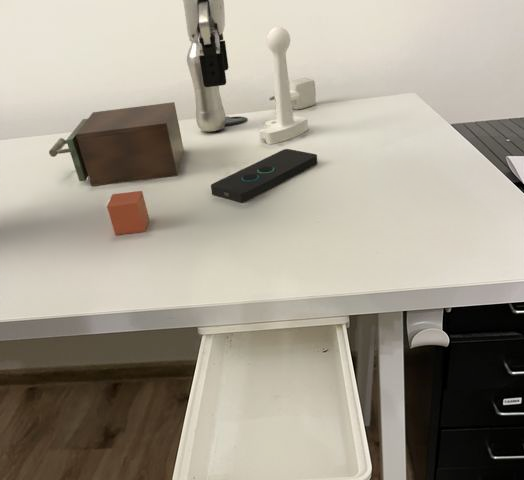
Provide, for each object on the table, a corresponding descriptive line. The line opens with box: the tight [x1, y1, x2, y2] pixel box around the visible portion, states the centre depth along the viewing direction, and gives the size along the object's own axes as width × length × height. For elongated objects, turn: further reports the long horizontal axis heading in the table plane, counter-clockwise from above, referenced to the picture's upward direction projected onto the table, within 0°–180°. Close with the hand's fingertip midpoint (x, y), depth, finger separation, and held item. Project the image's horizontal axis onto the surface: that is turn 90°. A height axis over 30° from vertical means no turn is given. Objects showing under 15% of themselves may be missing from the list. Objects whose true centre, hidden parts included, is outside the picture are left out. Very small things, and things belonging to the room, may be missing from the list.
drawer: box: [48, 118, 89, 182], centre depth 107 cm, size 21×13×8 cm, turn 92°
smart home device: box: [210, 148, 318, 204], centre depth 97 cm, size 8×2×20 cm
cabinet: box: [76, 101, 185, 187], centre depth 107 cm, size 17×15×10 cm
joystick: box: [258, 26, 309, 145], centre depth 110 cm, size 11×8×20 cm
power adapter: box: [268, 77, 317, 110], centre depth 129 cm, size 11×5×6 cm, turn 122°
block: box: [106, 190, 150, 236], centre depth 86 cm, size 5×5×5 cm
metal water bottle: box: [186, 31, 227, 132], centre depth 118 cm, size 6×7×20 cm
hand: (217, 77), depth 82 cm, fingers open, 9 cm apart
